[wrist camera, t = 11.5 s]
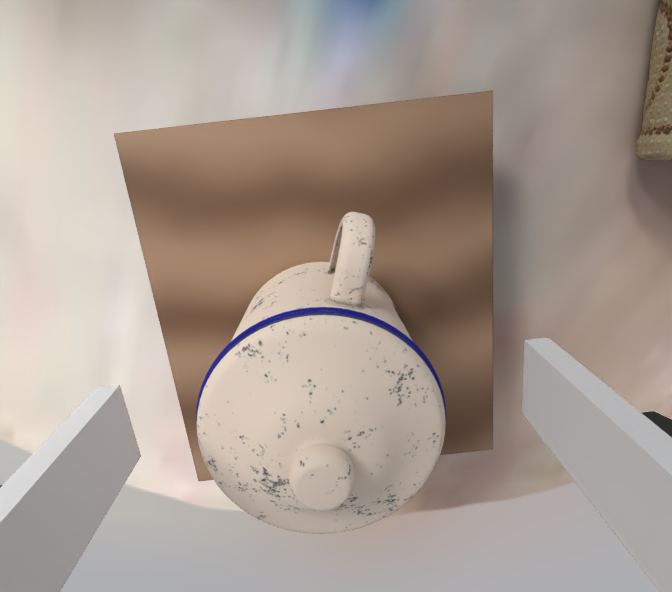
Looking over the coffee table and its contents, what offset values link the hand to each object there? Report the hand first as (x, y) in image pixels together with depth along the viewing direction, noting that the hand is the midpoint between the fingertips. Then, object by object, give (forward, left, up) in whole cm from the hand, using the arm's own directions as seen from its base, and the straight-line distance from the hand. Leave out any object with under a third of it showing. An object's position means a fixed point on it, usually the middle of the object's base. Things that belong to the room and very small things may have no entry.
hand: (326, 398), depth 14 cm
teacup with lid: (0, 0, -10) cm, 10 cm away
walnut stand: (0, 0, -16) cm, 16 cm away
